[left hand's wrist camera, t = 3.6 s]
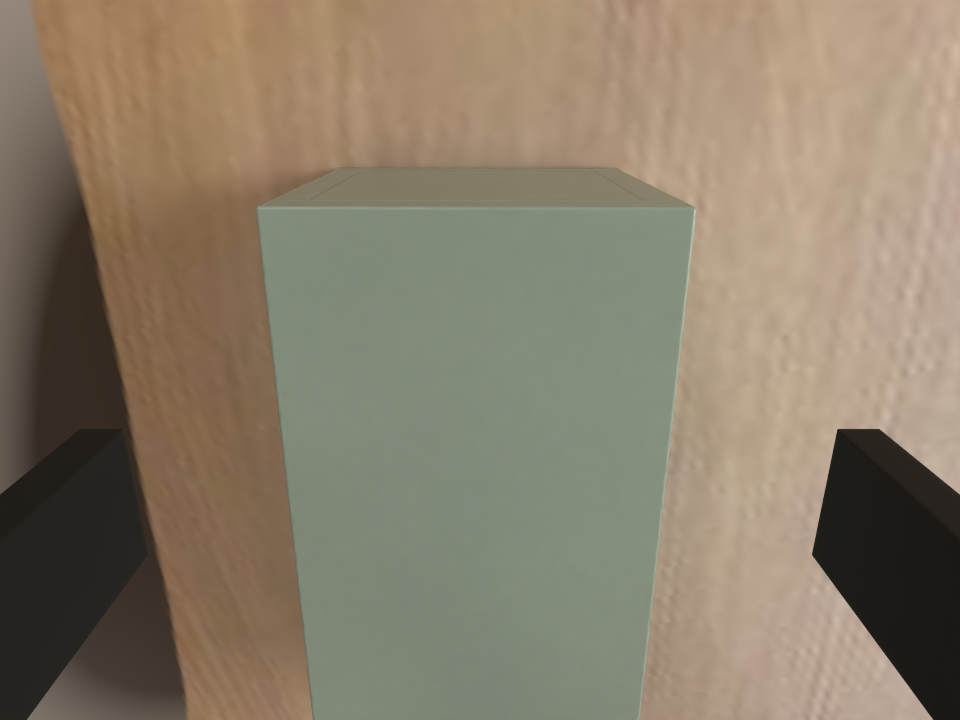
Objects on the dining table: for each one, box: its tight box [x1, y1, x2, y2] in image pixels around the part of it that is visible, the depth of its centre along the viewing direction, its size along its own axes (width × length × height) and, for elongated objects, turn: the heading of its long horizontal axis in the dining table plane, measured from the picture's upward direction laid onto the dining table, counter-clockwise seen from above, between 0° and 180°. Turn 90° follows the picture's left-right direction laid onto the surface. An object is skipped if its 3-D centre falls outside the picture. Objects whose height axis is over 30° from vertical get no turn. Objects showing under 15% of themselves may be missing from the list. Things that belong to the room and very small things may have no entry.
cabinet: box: [256, 168, 696, 720], centre depth 24 cm, size 21×10×10 cm, turn 0°
